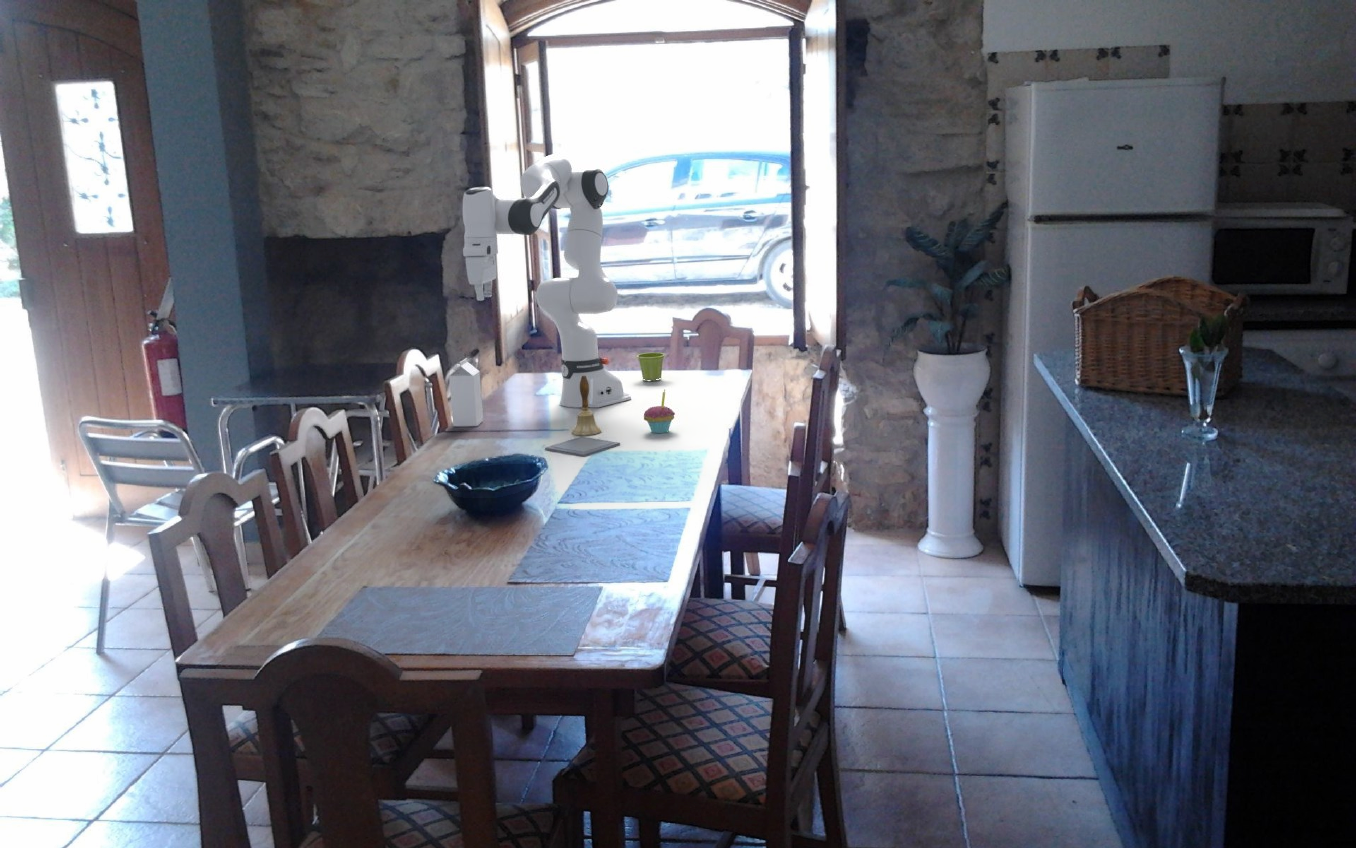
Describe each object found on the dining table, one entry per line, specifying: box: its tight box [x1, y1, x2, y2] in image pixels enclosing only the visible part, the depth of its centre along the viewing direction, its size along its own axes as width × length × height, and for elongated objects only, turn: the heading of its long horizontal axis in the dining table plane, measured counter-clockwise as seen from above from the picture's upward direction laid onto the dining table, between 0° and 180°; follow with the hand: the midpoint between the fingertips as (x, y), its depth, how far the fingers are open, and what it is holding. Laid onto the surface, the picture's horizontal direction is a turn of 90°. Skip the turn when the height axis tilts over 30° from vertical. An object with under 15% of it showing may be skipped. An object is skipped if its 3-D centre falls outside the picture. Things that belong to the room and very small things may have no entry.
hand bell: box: [571, 376, 602, 437], centre depth 322 cm, size 8×8×16 cm
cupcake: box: [643, 389, 676, 434], centre depth 320 cm, size 9×8×12 cm
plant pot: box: [636, 352, 665, 381], centre depth 394 cm, size 9×9×9 cm
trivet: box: [544, 435, 621, 458], centre depth 307 cm, size 14×14×1 cm
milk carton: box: [448, 357, 484, 427], centre depth 337 cm, size 7×7×19 cm
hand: (484, 298), depth 320 cm, fingers open, 8 cm apart
